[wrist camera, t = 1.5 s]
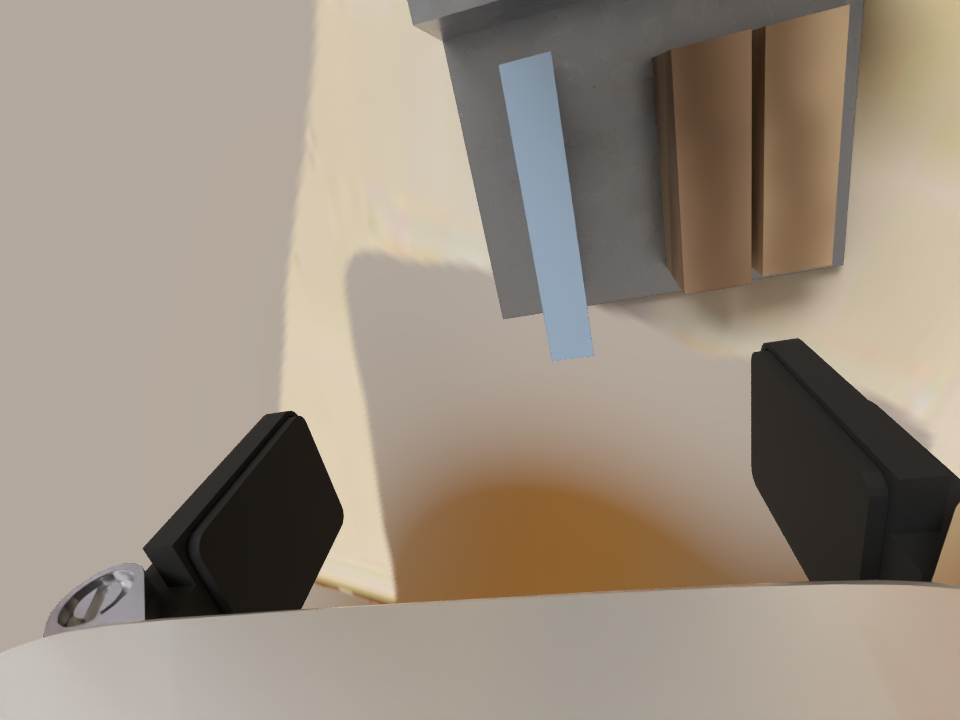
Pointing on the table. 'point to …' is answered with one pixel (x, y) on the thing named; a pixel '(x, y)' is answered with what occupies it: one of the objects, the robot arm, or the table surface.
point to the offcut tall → (706, 160)
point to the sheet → (548, 202)
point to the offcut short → (796, 140)
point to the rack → (597, 124)
